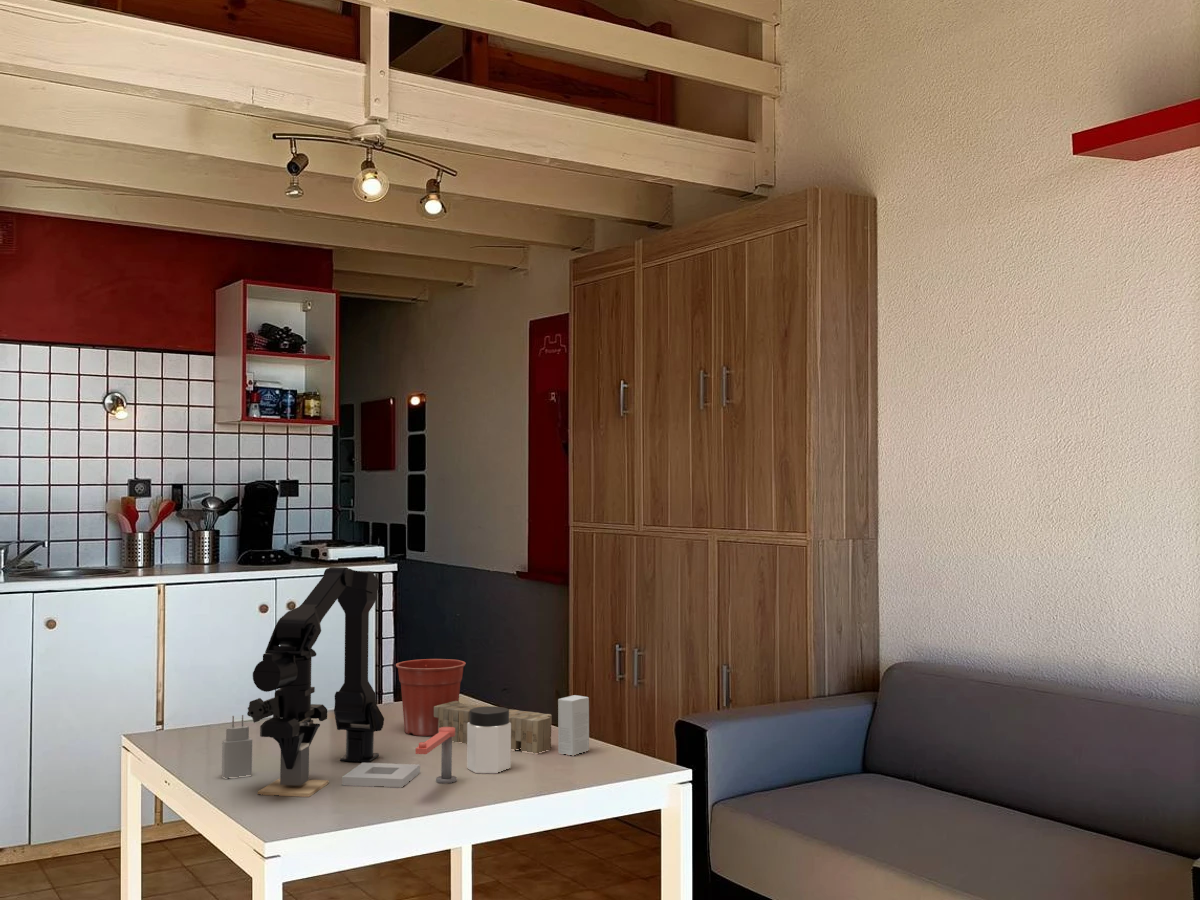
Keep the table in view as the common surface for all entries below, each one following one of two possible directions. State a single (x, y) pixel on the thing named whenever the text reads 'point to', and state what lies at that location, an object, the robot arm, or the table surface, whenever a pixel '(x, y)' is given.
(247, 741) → the power adapter
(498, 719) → the jar
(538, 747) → the block tower
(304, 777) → the plug
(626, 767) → the table surface
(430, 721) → the flower pot
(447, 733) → the pink lever
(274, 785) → the wooden pad
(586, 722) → the skincare box
